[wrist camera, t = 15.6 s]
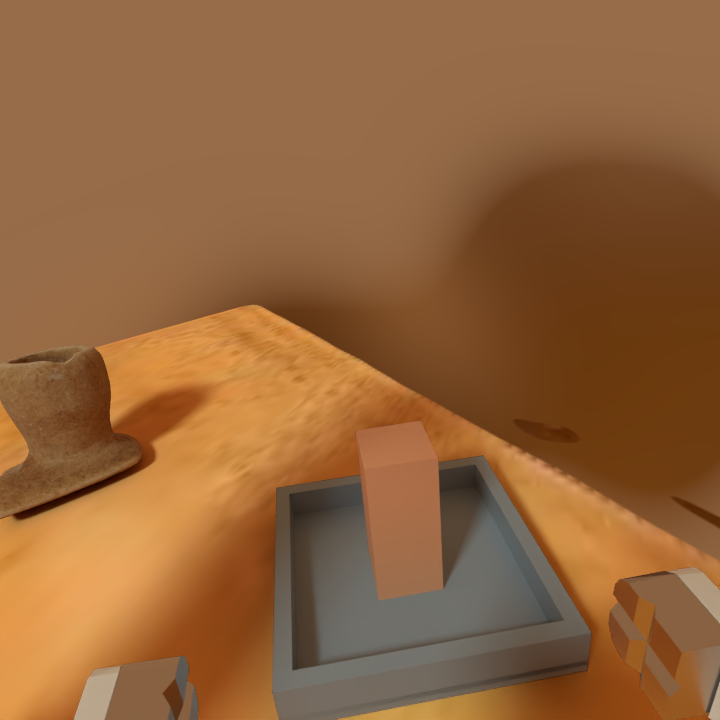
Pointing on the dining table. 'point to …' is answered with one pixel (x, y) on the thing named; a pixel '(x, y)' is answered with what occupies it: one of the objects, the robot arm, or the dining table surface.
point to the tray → (413, 604)
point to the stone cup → (60, 426)
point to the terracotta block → (401, 508)
